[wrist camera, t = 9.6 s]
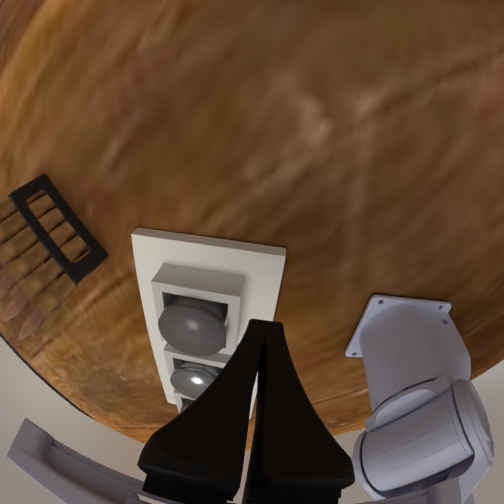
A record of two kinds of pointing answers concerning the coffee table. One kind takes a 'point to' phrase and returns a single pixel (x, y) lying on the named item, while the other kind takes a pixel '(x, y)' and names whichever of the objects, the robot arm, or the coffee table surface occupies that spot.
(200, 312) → the knob graphite
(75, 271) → the ammunition clip
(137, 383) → the coffee table surface
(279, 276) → the mount board
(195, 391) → the knob steel
